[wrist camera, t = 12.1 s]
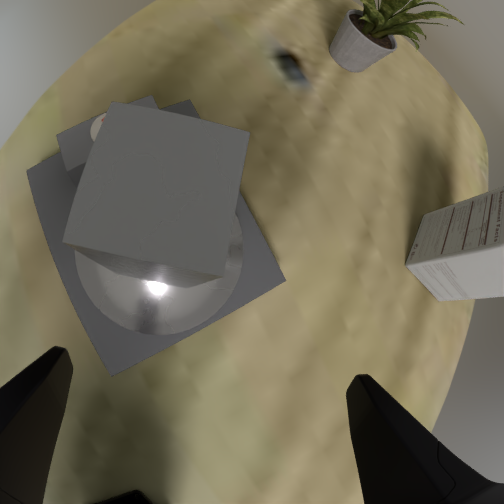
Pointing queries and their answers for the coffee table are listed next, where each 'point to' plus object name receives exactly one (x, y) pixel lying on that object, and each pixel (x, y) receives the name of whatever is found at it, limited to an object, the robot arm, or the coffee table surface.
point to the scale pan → (160, 294)
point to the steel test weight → (158, 196)
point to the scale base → (54, 224)
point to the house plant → (377, 32)
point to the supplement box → (462, 249)
